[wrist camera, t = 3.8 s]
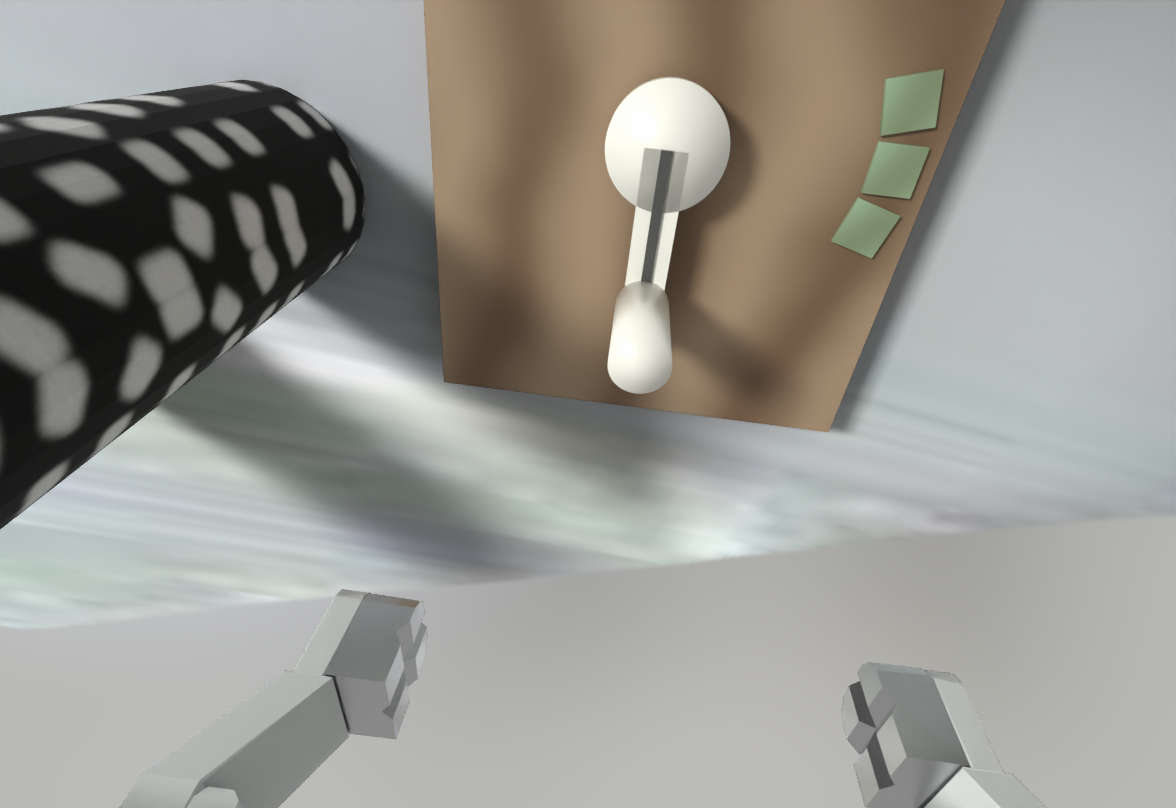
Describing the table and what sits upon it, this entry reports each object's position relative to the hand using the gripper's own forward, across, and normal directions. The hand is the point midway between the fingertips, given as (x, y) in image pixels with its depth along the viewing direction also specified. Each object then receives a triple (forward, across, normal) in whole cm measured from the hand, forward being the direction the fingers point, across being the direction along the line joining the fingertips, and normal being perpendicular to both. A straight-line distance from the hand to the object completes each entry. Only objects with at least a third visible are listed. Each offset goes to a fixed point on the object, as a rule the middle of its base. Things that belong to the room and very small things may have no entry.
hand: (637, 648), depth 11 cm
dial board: (+19, 0, -4) cm, 20 cm away
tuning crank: (+17, 0, -3) cm, 17 cm away
